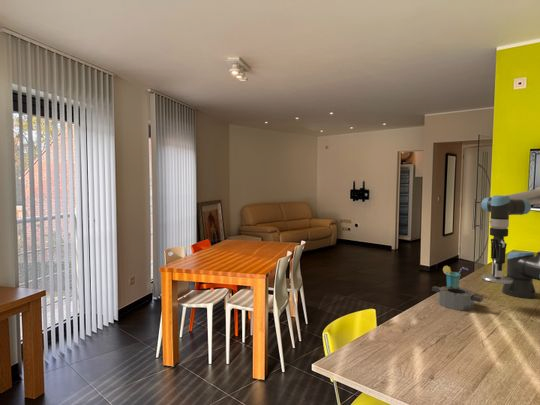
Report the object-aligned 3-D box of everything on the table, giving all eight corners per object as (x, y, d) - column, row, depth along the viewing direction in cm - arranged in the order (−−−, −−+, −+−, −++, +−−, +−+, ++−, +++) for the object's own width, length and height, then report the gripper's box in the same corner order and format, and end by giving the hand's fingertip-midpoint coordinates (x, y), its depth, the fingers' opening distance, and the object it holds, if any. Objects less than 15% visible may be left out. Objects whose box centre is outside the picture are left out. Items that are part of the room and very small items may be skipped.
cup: (470, 294, 197) (471, 267, 196) (465, 297, 191) (466, 269, 190) (443, 288, 207) (444, 262, 206) (438, 291, 202) (439, 264, 200)
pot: (426, 302, 184) (426, 288, 183) (439, 296, 194) (439, 283, 193) (474, 315, 167) (475, 300, 166) (486, 307, 177) (487, 293, 176)
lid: (506, 277, 182) (507, 256, 182) (517, 284, 170) (518, 262, 169) (477, 275, 185) (478, 255, 185) (486, 283, 173) (487, 261, 172)
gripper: (484, 225, 185) (482, 270, 186) (496, 229, 169) (494, 279, 170) (501, 225, 183) (499, 271, 185) (515, 230, 167) (512, 280, 169)
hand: (496, 275), depth 177 cm, fingers closed on lid, 4 cm apart
